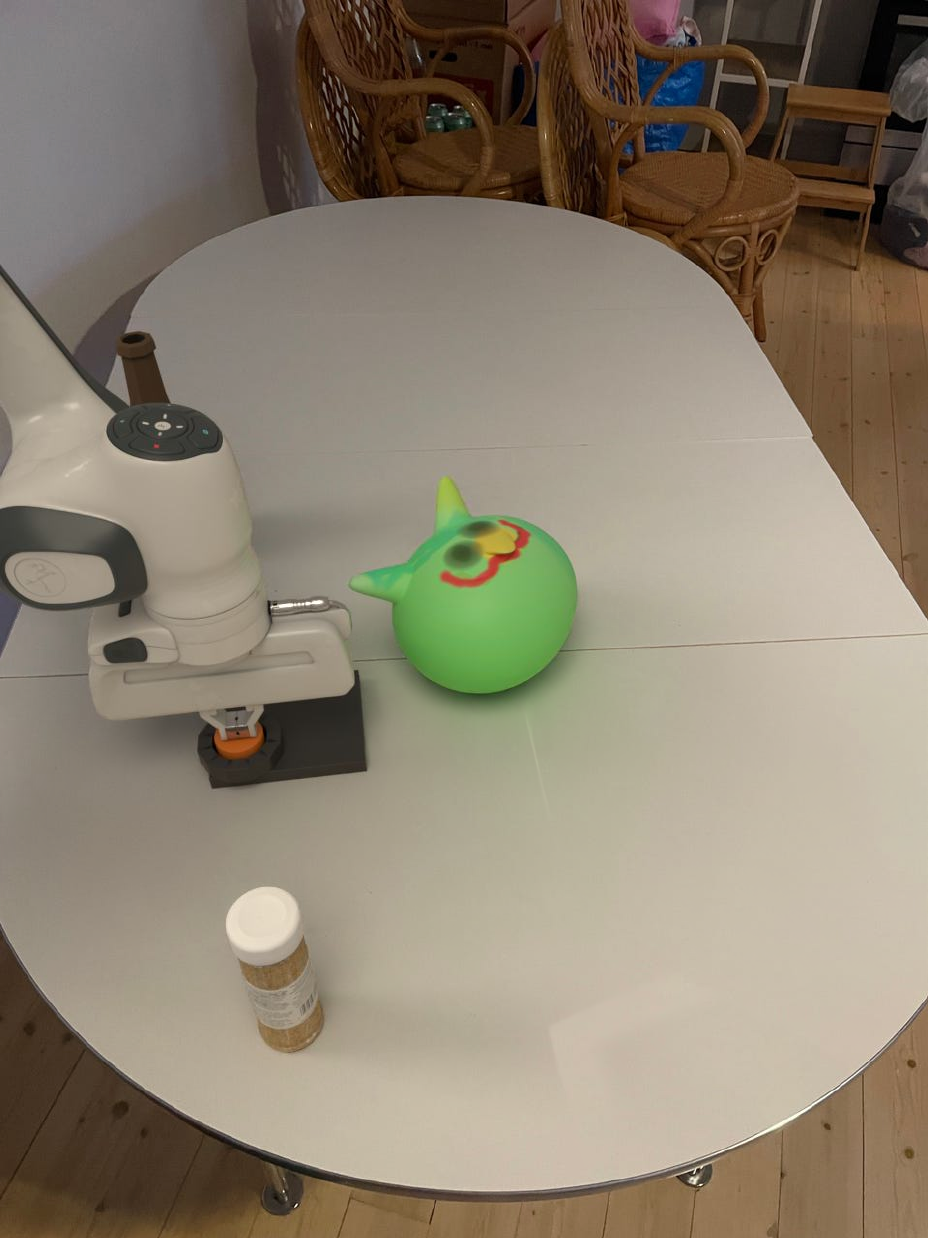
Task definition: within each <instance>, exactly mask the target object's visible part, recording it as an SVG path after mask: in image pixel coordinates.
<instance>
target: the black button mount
mask: <svg viewBox="0 0 928 1238" xmlns="http://www.w3.org/2000/svg"><path fill="white" fill-rule="evenodd" d="M225 710H226V711H227V712H230V711H240V710H246V707H245V706H244V707H235V708H226V709H225ZM258 722H259V723H260V725H261V726H262V730H263V734H264V738H265V743H264V745H263V746H262V748H261V749H260V750H259V751H258V752H256V753H254V754H252V755H251V756H249V757H247V758H240V759H232V760H230V759H227V758H224V757H221V756H219V754H218V751H217V748H216V744H215V740H214V736H215V732H216V730H217V728H215V727H214V726H212V725H211V724H210V723H208V722H207V724H205V726H204V728H202V729H201V731H200V733H199V734H198V735H197V736H198V737H197V749H196V750H197V751H196V752H197V754H198V758H199V762H200V764H201V766H202V767H203V768H204V769H205V771H206V772H207V773H208V781H209V784H210V788H211V790H215V789H224V788H233V787H243V786H250V785H260V784H268V783H277V782H285V781H286V782H287V781H294V780H295V781H296V780H302V779H312V778H313V779H314V778H321V777H329V776H330V777H331V776H339V775H346V774H357V773H366V772H368V767H367V766H368V765H367V754H366V739H365V730H364V729H365V728H364V715H363V703H362V690H361V679H360V671H359V669H354V686H353V687H352V688H351V689H350V690H349V692H348V693H347V694H345V695H342V696H334V697H324V698H315V699H306V700H298V701H289V702H280V703H271V704H264V711H263V713H262V714H261V716H260V717H259V719H258ZM364 739H365V740H364Z"/></svg>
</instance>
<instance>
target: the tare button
mask: <svg viewBox="0 0 928 1238" xmlns="http://www.w3.org/2000/svg"><path fill="white" fill-rule="evenodd" d="M214 740H215V744H216V748H217V751H218V754H219V756H221V757H224V758H227V759H230V760H232V759H240V758H247V757H249V756H251V755H252V754H254V753H256V752H258V751H259V750H260V749H261V748H262V746H263V745H264V743H265V738H264V734H263V730H262V726H261V725H260V723H259V722H258V721H257V737H249V738H239V739H231V740H223V741H222V740H221V737H220V733H219V729H218V728H217V730H216V732H215V736H214Z"/></svg>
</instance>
